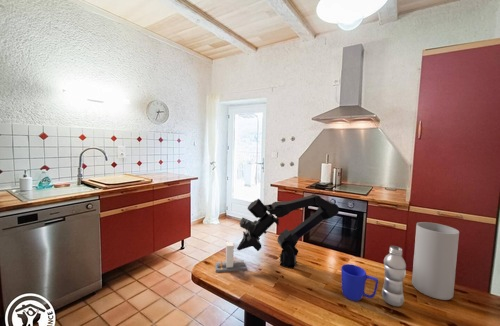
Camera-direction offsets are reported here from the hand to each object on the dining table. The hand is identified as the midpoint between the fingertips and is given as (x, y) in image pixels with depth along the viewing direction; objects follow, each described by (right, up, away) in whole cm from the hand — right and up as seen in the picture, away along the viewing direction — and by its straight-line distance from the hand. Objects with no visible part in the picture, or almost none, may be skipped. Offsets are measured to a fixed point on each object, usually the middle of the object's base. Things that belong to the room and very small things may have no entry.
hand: (237, 249), depth 99 cm
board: (-3, -8, 0) cm, 9 cm away
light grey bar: (-3, -8, 0) cm, 9 cm away
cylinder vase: (+76, -11, -12) cm, 78 cm away
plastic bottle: (+56, -11, -20) cm, 60 cm away
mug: (+45, -11, -18) cm, 49 cm away
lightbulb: (+62, -11, -13) cm, 64 cm away
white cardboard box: (-4, -7, 0) cm, 8 cm away
